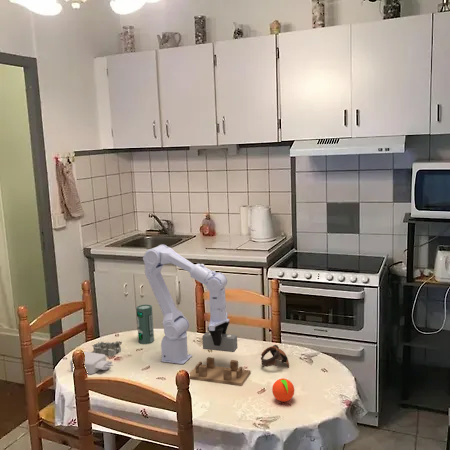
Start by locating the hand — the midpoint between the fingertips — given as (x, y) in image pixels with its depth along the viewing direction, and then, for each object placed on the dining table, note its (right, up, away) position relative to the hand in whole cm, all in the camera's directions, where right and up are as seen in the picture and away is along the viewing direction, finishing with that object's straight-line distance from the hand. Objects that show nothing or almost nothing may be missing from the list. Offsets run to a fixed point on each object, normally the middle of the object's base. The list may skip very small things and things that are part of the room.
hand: (219, 342), depth 187 cm
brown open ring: (+20, -8, -1) cm, 22 cm away
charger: (-46, -10, +2) cm, 47 cm away
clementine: (+21, -12, -27) cm, 36 cm away
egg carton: (-45, -8, +17) cm, 49 cm away
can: (-31, -6, +27) cm, 41 cm away
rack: (0, -10, -8) cm, 12 cm away
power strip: (0, -2, 0) cm, 2 cm away
